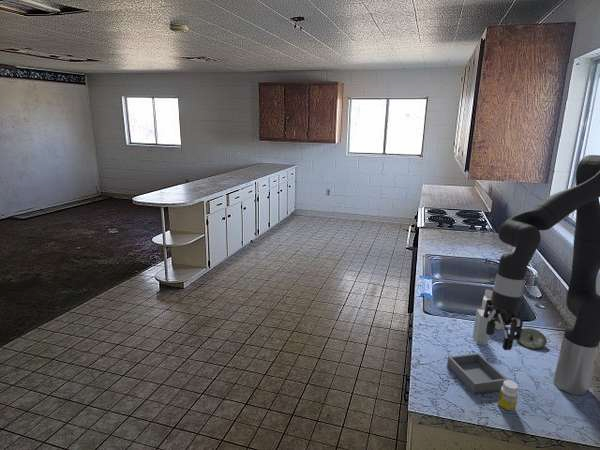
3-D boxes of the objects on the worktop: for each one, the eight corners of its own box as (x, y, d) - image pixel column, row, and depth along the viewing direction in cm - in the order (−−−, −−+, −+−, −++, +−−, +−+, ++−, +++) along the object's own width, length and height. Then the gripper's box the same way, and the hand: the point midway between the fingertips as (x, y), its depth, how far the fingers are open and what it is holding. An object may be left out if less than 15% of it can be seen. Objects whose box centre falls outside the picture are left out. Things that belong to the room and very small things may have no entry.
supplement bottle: (500, 400, 125) (504, 376, 123) (516, 407, 122) (521, 383, 120) (495, 408, 121) (500, 384, 119) (513, 415, 118) (517, 391, 116)
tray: (476, 362, 143) (478, 353, 142) (506, 390, 129) (508, 379, 128) (446, 366, 141) (448, 356, 140) (473, 394, 127) (474, 384, 126)
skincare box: (487, 345, 155) (492, 317, 151) (476, 344, 155) (480, 316, 152) (483, 336, 160) (487, 309, 157) (472, 335, 161) (476, 308, 158)
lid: (548, 343, 157) (550, 332, 156) (541, 353, 150) (544, 342, 149) (519, 333, 164) (521, 322, 163) (511, 342, 157) (513, 331, 156)
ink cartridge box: (478, 324, 170) (483, 292, 166) (479, 319, 174) (484, 288, 170) (500, 330, 166) (506, 298, 162) (501, 325, 170) (507, 293, 166)
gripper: (536, 301, 108) (525, 355, 112) (505, 281, 121) (495, 329, 125) (510, 301, 107) (499, 355, 111) (481, 280, 120) (473, 329, 124)
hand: (497, 341), depth 118 cm, fingers open, 8 cm apart
